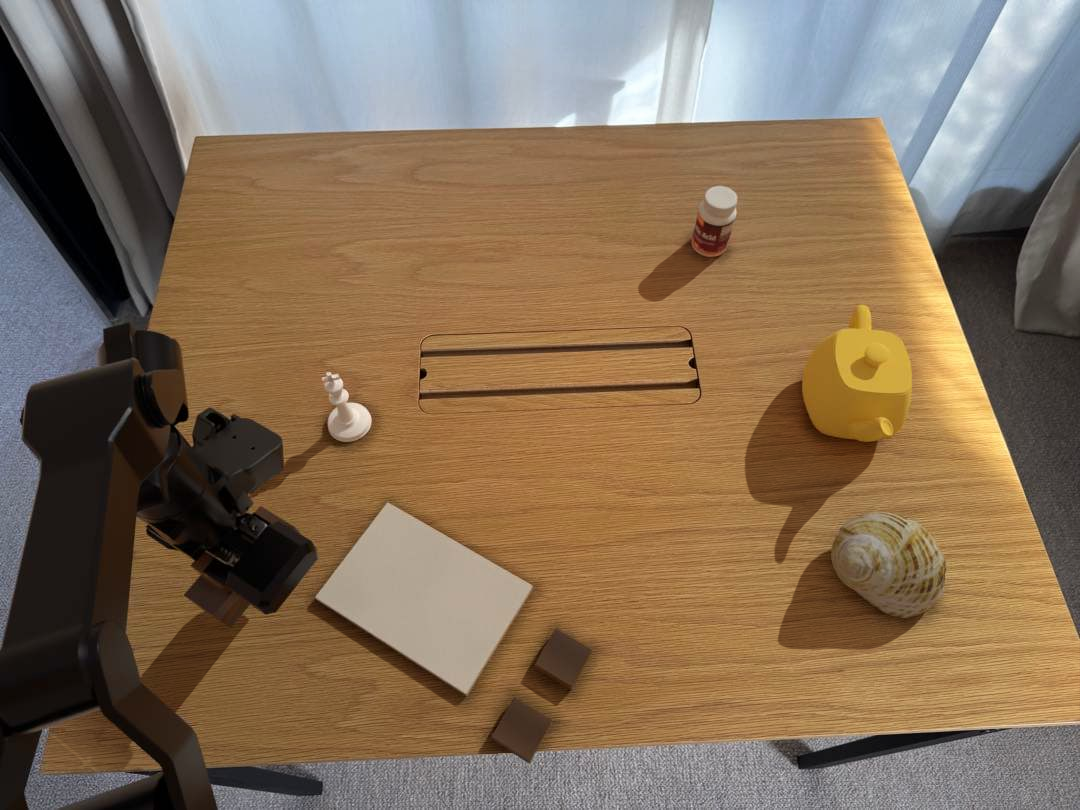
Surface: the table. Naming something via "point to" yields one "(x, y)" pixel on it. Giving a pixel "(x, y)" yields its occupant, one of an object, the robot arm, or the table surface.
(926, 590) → the seashell
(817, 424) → the teapot
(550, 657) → the chip
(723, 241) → the pill bottle
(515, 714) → the chip
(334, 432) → the chess piece
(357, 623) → the tile
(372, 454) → the table surface
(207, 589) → the brown stepped block
